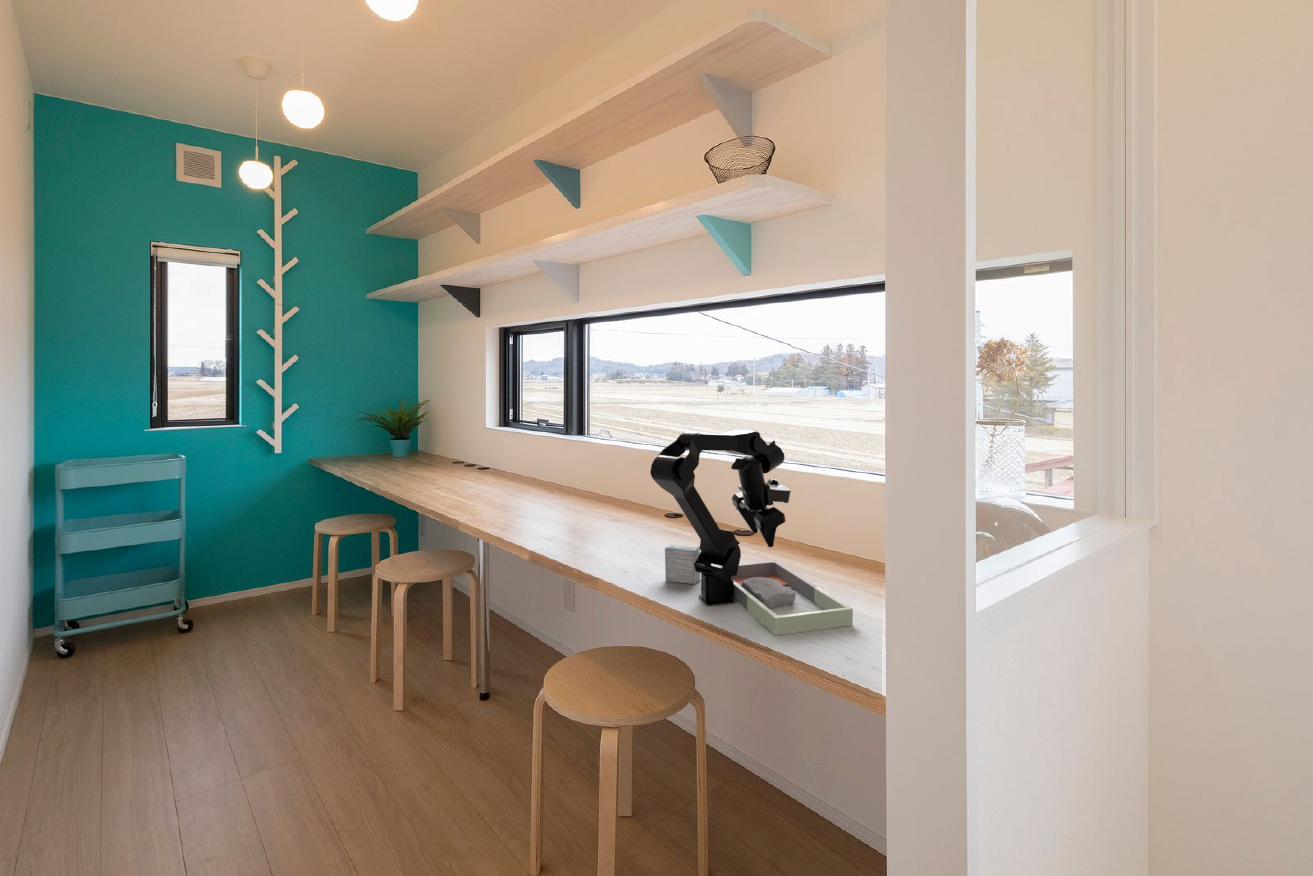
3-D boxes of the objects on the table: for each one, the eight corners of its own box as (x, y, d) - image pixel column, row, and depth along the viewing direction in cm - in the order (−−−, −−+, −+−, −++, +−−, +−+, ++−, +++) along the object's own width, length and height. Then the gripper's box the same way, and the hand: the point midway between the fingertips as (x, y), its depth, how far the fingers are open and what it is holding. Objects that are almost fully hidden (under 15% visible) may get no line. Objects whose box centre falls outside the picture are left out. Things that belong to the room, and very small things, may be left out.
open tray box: (775, 635, 129) (775, 618, 128) (712, 580, 163) (712, 567, 163) (852, 625, 133) (852, 608, 133) (775, 574, 168) (775, 560, 167)
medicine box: (700, 579, 165) (700, 545, 164) (695, 585, 161) (694, 550, 160) (671, 576, 168) (670, 543, 167) (665, 581, 163) (664, 547, 163)
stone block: (772, 596, 157) (735, 594, 153) (776, 577, 156) (739, 574, 153) (800, 615, 146) (761, 613, 142) (804, 594, 145) (765, 591, 142)
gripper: (801, 482, 149) (810, 544, 153) (767, 461, 167) (776, 517, 171) (756, 496, 147) (767, 558, 151) (726, 473, 164) (737, 530, 169)
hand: (763, 539), depth 161 cm, fingers open, 9 cm apart
